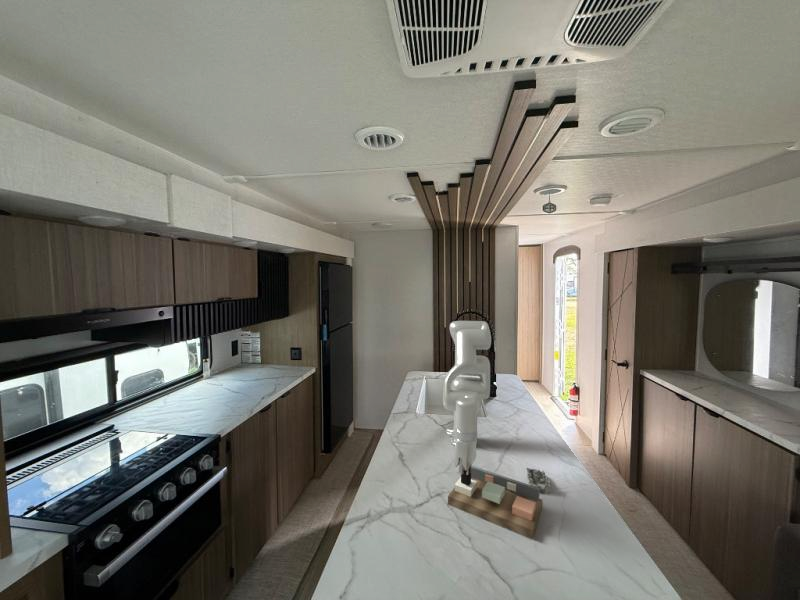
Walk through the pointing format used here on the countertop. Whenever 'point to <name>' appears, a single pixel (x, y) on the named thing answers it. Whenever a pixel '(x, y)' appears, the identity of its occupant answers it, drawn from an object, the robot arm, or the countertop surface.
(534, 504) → the key terracotta
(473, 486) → the key cream
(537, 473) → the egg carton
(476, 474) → the keypad
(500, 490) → the key sage
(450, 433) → the robot arm
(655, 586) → the countertop surface
